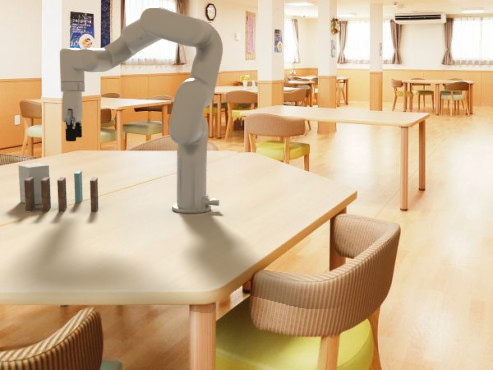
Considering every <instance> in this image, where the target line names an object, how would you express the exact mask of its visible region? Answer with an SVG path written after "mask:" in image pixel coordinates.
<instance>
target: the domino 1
mask: <svg viewBox="0 0 493 370" xmlns="http://www.w3.org/2000/svg"><path fill="white" fill-rule="evenodd" d="M24 186H25V203H24V204H25V205H24V206H25V212H26V211H31V212H32V211H33V210H35V208H36V205H35V196H34V177H28V178H27V179H25V180H24Z"/></svg>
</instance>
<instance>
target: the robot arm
mask: <svg viewBox="0 0 493 370" xmlns="http://www.w3.org/2000/svg"><path fill="white" fill-rule="evenodd" d="M161 40H166V41H168V42H172V43H175V44H178V45H181V46H185V47H189V48H191V47H192V48H195V55H194V58H193V60H192V64H191V70H190V74H189V77H188V79H186V80H184V81H183V82H181V83H180V85H179V86H178V87H177V90H176V92H175V96H174V99H173V104H172V109H171V113H170V118H169V123H168V134H169V137H170V138H171V140H172V141H173V142H174V143H175V144H177V148H176V149H177V150H176V202H175V203H174V204H172V205H171V208H172V209H171V210H173V211H174V212H177V213H183V214H202V213H206V212H209V211H211V209H212V206H215V207H216V206H217V207H219V206H220V199H217V198H210V197H209V194H207V163H208V161H207V160H208V158H207V157H208V141H209V132H210V131H209V123H208V121H207V119H206V117H205V116H204V110H205V108H207V107H208V106H210V105H211V103H212V102H213V100H214V97H215V90H216V86H217V82H218V78H219V73H220V68H221V64H222V59H223V53H224V52H223V51H224V48H223V47H224V46H223V41H222V38H221V35H220V34H219V32H218V31H217V29H216V28H215V27H214V26H213V25H212V24H210V23H209V22H208V21H206V20H204V19H200V18H196V17H193V16H189V15H186V14H181V13H179V12H175V11H171V10H170V9H168V8H165V7H161V6H156V5H155V6H154V5H151V6H149V7H147V8H145V9H144V10H143V11H142V12H141V14H140V17H139V18H138V19H137V20H135V21H133V22H131V23H130V24H128V25H126V26H124V27H123V28H122V30H121V34H120V36H119V37H117V39H115V40H114V41H112V42H109V44H106V45H105V46H102V47H101V48H98V47H89V48H77V47H76V48H73V47H69V48H68V47H64V48H61V49H60V50H59V73H60V74H59V75H60V79H59V80H60V92H62V104H61V106H62V107H61V110H62V113H61V115H62V116H61V118H62V119H61V120H62V122H63V123H65V141H66V142H77V138H78V139H79V138H82V137H83V127H82V120H83V94H82V93H85V92H86V90H85V88H86V87H85V86H86V85H85V72H86V73H104V72H107V71H110V70H112V69H114V68H116V67H118V66H120V65H122V64H123V63H125V62H127V61H128V60H129V59H131V58H133V56H135V55H136V54H137V53H140V52H141V51H142V50H144V49H146V48H148V47H151V45H153V44H155V43H157V42H158V41H161Z"/></svg>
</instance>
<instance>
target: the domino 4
mask: <svg viewBox="0 0 493 370" xmlns="http://www.w3.org/2000/svg"><path fill="white" fill-rule="evenodd" d="M73 178H74V180H73V181H74V204H78V203H79V204H80V203H81V202H82V201H83V197H84V196H83V171H82V170H76V171H75V172H74V173H73Z"/></svg>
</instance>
